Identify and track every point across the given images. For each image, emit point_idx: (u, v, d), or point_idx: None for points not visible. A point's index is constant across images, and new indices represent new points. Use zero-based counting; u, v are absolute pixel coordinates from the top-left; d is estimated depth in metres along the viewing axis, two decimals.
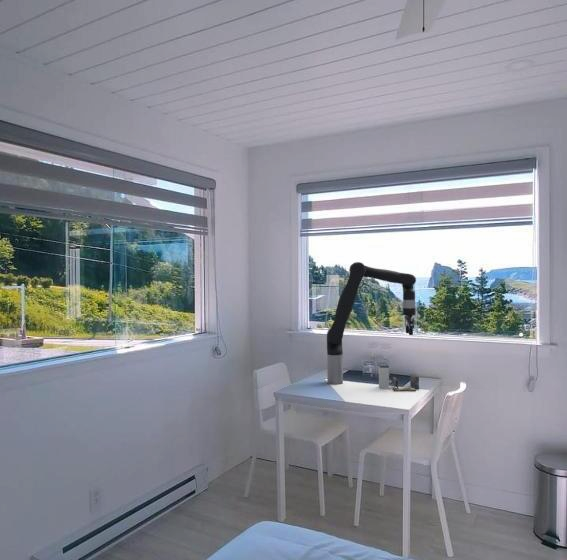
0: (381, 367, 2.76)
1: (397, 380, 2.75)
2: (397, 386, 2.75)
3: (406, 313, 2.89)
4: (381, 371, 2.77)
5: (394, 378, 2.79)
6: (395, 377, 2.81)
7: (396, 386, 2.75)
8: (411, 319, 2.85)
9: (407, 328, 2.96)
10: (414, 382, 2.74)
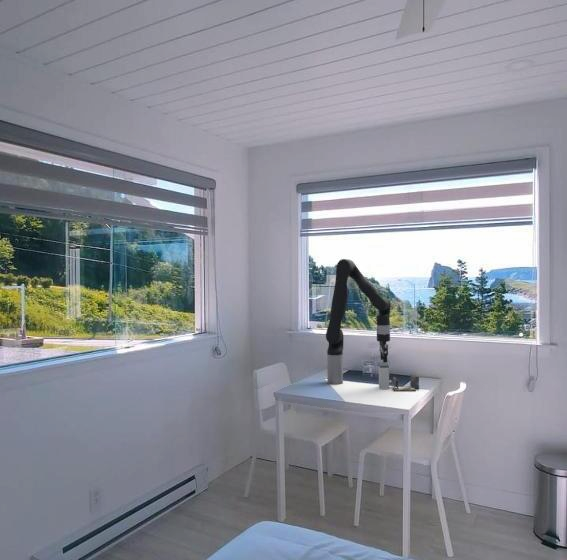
0: (381, 367, 2.76)
1: (397, 380, 2.75)
2: (397, 386, 2.75)
3: (380, 339, 2.76)
4: (381, 371, 2.77)
5: (394, 378, 2.79)
6: (395, 377, 2.81)
7: (396, 386, 2.75)
8: (385, 346, 2.72)
9: (382, 354, 2.83)
10: (414, 382, 2.74)
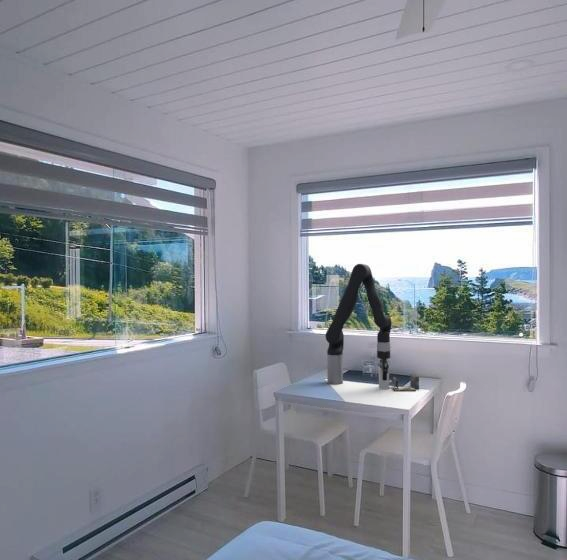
0: (381, 367, 2.76)
1: (397, 380, 2.75)
2: (397, 386, 2.75)
3: (380, 356, 2.76)
4: (381, 371, 2.77)
5: (394, 378, 2.79)
6: (395, 377, 2.81)
7: (396, 386, 2.75)
8: (385, 365, 2.72)
9: None
10: (414, 382, 2.74)
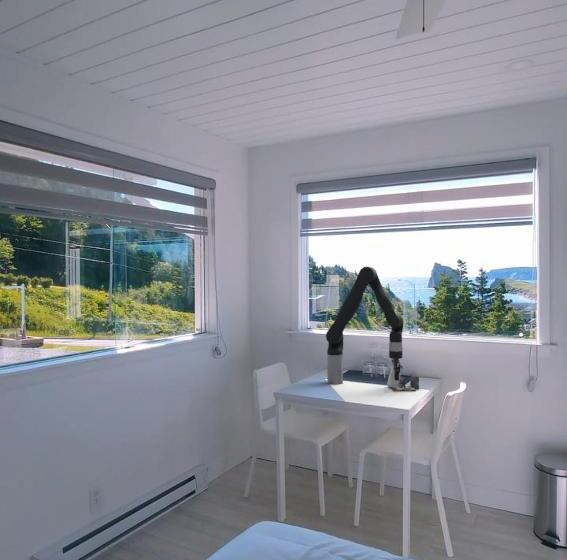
0: None
1: (404, 380, 2.75)
2: (404, 386, 2.75)
3: (392, 356, 2.76)
4: (394, 370, 2.76)
5: (401, 378, 2.78)
6: (402, 377, 2.81)
7: (403, 386, 2.74)
8: (397, 365, 2.72)
9: None
10: (414, 382, 2.74)
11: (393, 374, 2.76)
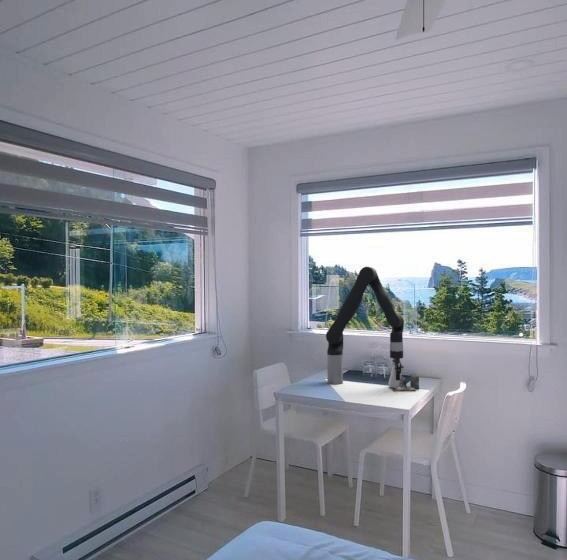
0: None
1: (405, 380, 2.75)
2: (405, 386, 2.75)
3: (393, 356, 2.76)
4: (395, 370, 2.76)
5: (402, 378, 2.78)
6: (403, 377, 2.81)
7: (404, 386, 2.74)
8: (398, 365, 2.72)
9: None
10: (414, 382, 2.74)
11: (394, 374, 2.76)
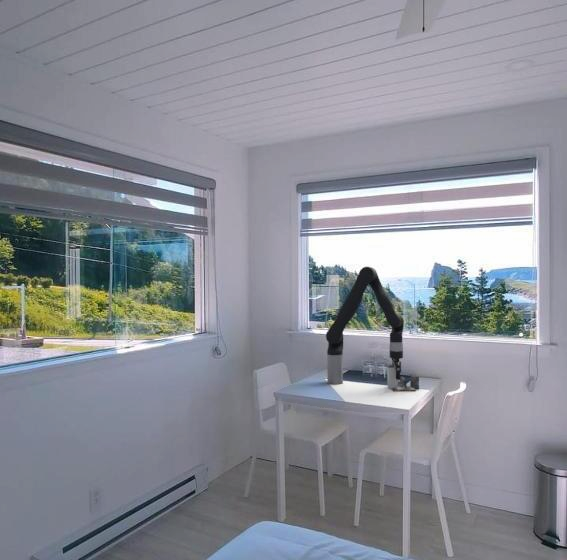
0: (389, 367, 2.76)
1: (405, 380, 2.75)
2: (405, 386, 2.75)
3: (393, 356, 2.76)
4: (389, 371, 2.76)
5: (402, 378, 2.78)
6: (403, 377, 2.81)
7: (404, 386, 2.74)
8: (398, 363, 2.72)
9: None
10: (414, 382, 2.74)
11: (390, 375, 2.76)
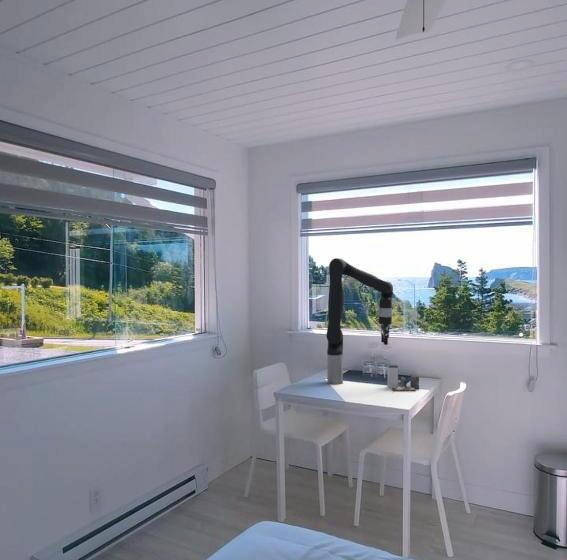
0: (390, 367, 2.76)
1: (405, 380, 2.75)
2: (405, 386, 2.75)
3: (382, 322, 2.79)
4: (390, 371, 2.76)
5: (402, 378, 2.78)
6: (403, 377, 2.81)
7: (404, 386, 2.74)
8: (386, 328, 2.75)
9: (383, 337, 2.86)
10: (414, 382, 2.74)
11: (390, 375, 2.76)
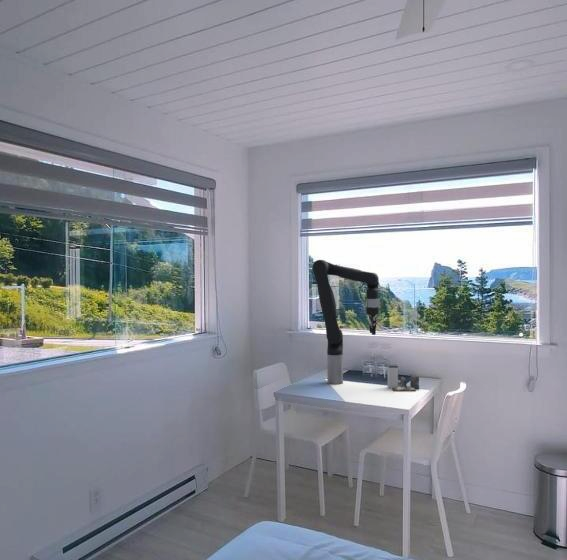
0: (390, 367, 2.76)
1: (405, 380, 2.75)
2: (405, 386, 2.75)
3: (369, 312, 2.84)
4: (390, 371, 2.76)
5: (402, 378, 2.78)
6: (403, 377, 2.81)
7: (404, 386, 2.74)
8: (373, 318, 2.80)
9: (371, 328, 2.91)
10: (414, 382, 2.74)
11: (390, 375, 2.76)
